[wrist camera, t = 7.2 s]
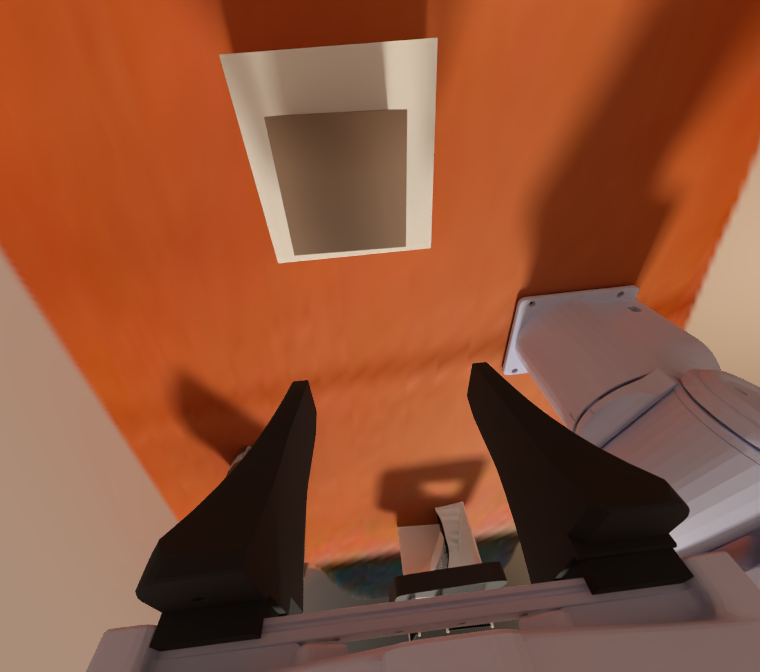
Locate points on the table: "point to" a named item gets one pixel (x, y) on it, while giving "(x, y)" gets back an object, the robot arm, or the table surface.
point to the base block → (338, 94)
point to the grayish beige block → (342, 178)
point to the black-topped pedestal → (443, 561)
